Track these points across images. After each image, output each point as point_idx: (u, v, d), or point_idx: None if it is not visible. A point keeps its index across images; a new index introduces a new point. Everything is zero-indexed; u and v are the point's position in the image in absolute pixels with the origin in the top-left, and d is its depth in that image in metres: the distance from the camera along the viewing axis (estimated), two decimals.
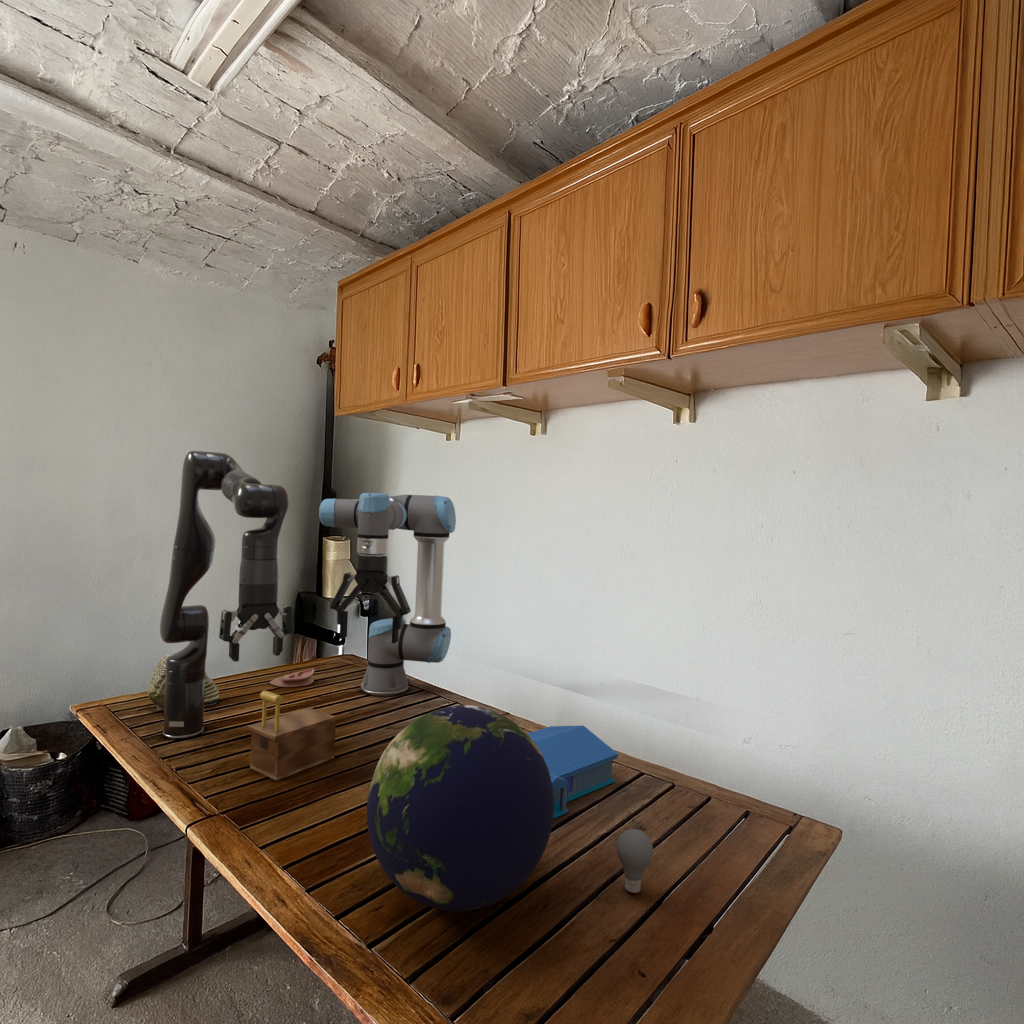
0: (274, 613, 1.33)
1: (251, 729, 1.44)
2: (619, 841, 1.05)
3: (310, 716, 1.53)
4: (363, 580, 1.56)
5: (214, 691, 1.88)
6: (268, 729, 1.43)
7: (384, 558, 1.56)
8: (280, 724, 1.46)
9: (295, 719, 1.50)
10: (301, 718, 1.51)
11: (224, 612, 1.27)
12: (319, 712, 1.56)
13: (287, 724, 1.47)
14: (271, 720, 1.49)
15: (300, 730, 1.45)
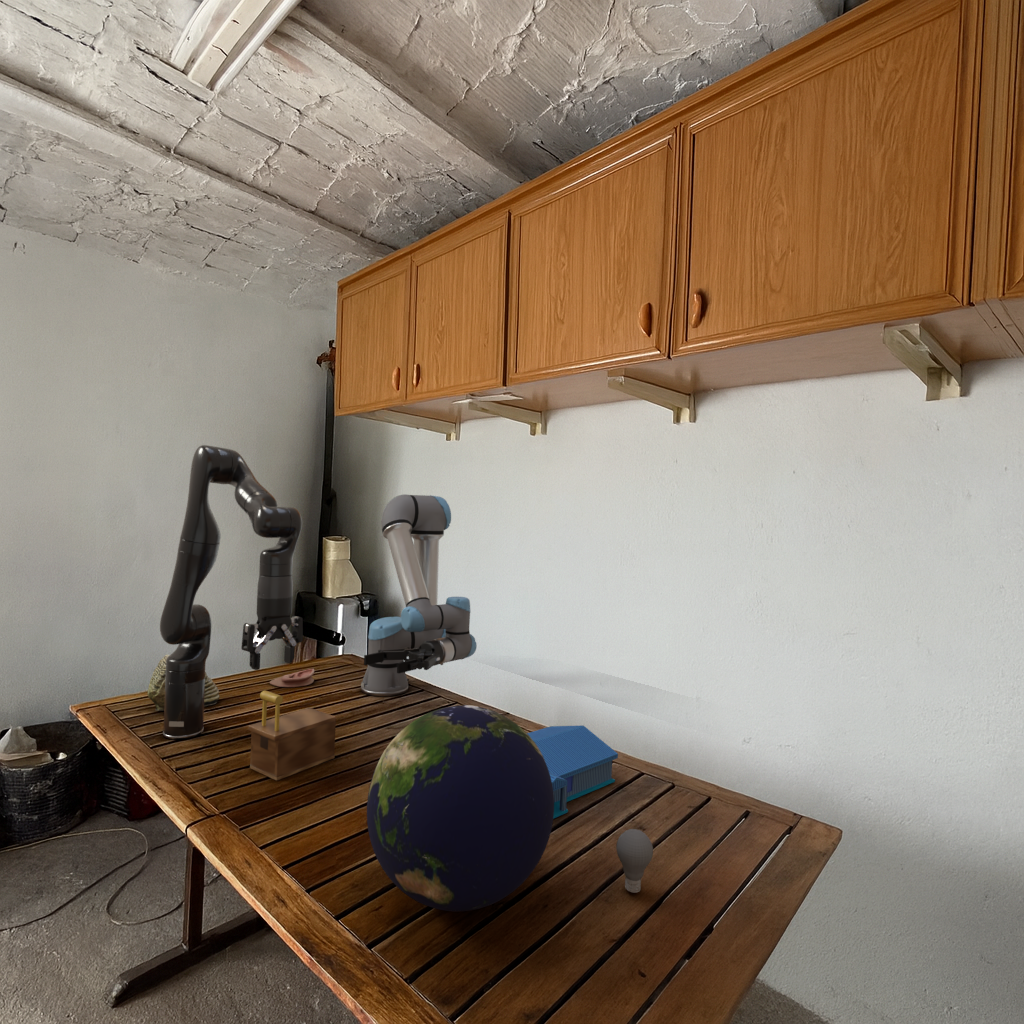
0: None
1: (251, 729, 1.44)
2: (619, 841, 1.05)
3: (310, 716, 1.53)
4: None
5: (214, 691, 1.88)
6: (268, 729, 1.43)
7: None
8: (280, 724, 1.46)
9: (295, 719, 1.50)
10: (301, 718, 1.51)
11: None
12: (319, 712, 1.56)
13: (287, 724, 1.47)
14: (271, 720, 1.49)
15: (300, 730, 1.45)
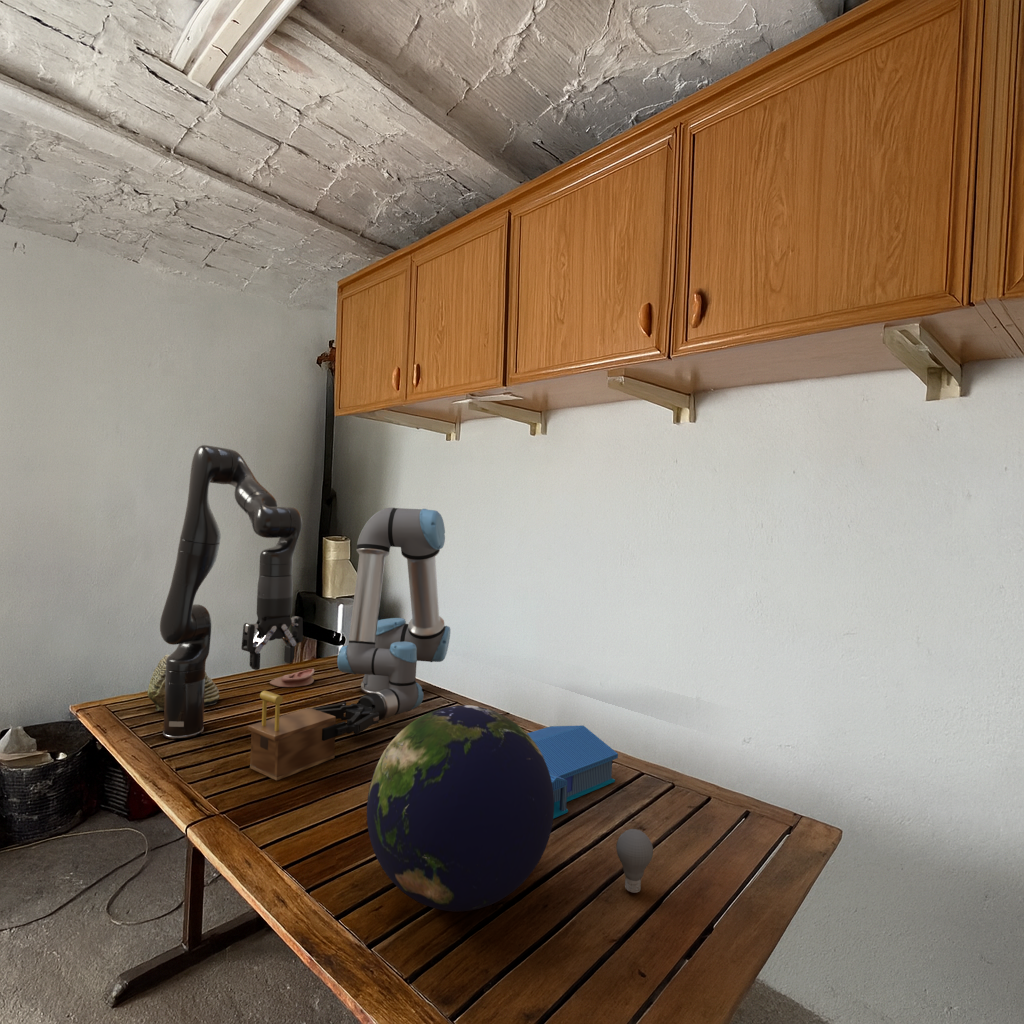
0: None
1: (251, 729, 1.44)
2: (619, 841, 1.05)
3: (310, 716, 1.53)
4: None
5: (214, 691, 1.88)
6: (268, 729, 1.43)
7: None
8: (280, 724, 1.46)
9: (295, 719, 1.50)
10: (301, 718, 1.51)
11: None
12: (319, 712, 1.56)
13: (287, 724, 1.47)
14: (271, 720, 1.49)
15: (300, 730, 1.45)
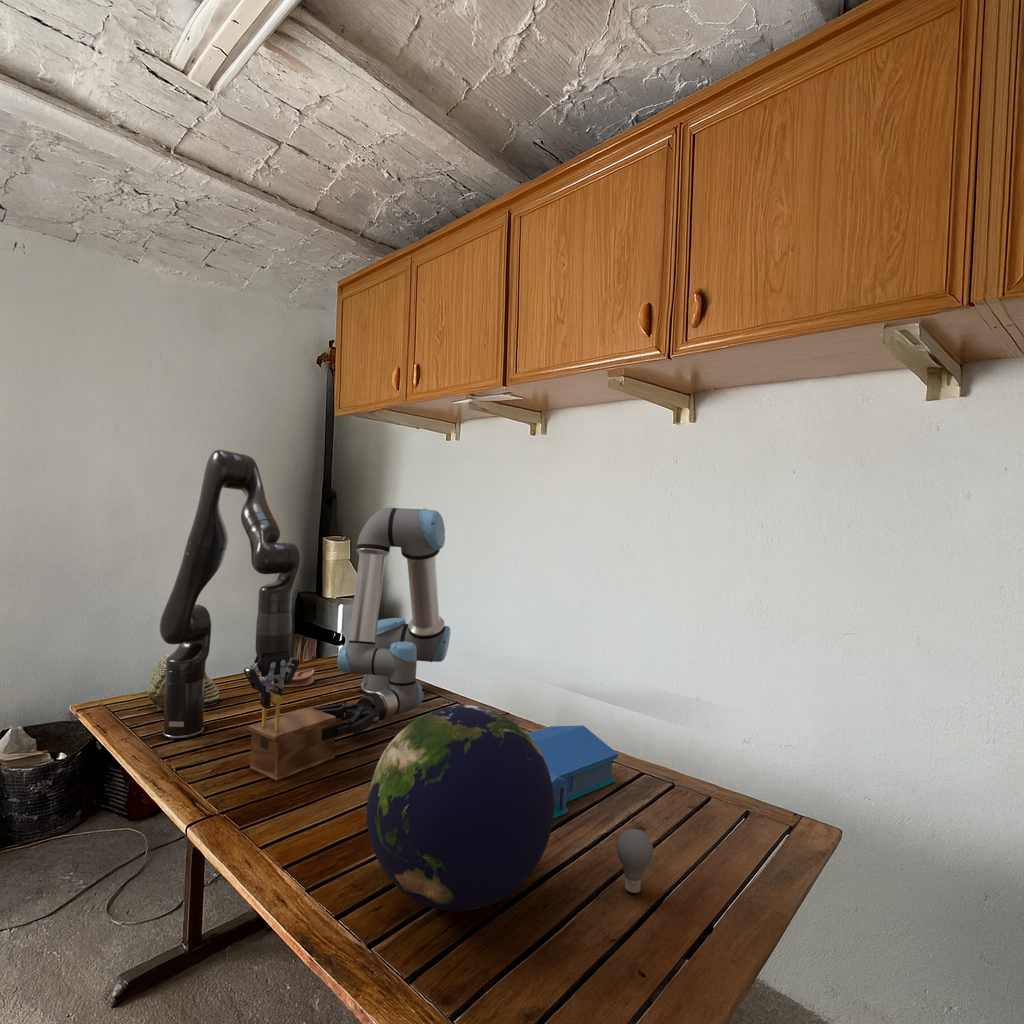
0: None
1: (251, 729, 1.44)
2: (619, 841, 1.05)
3: (310, 716, 1.53)
4: None
5: (214, 691, 1.88)
6: (268, 729, 1.43)
7: None
8: (280, 724, 1.46)
9: (295, 719, 1.50)
10: (301, 718, 1.51)
11: None
12: (319, 712, 1.56)
13: (287, 724, 1.47)
14: (271, 720, 1.49)
15: (300, 730, 1.45)
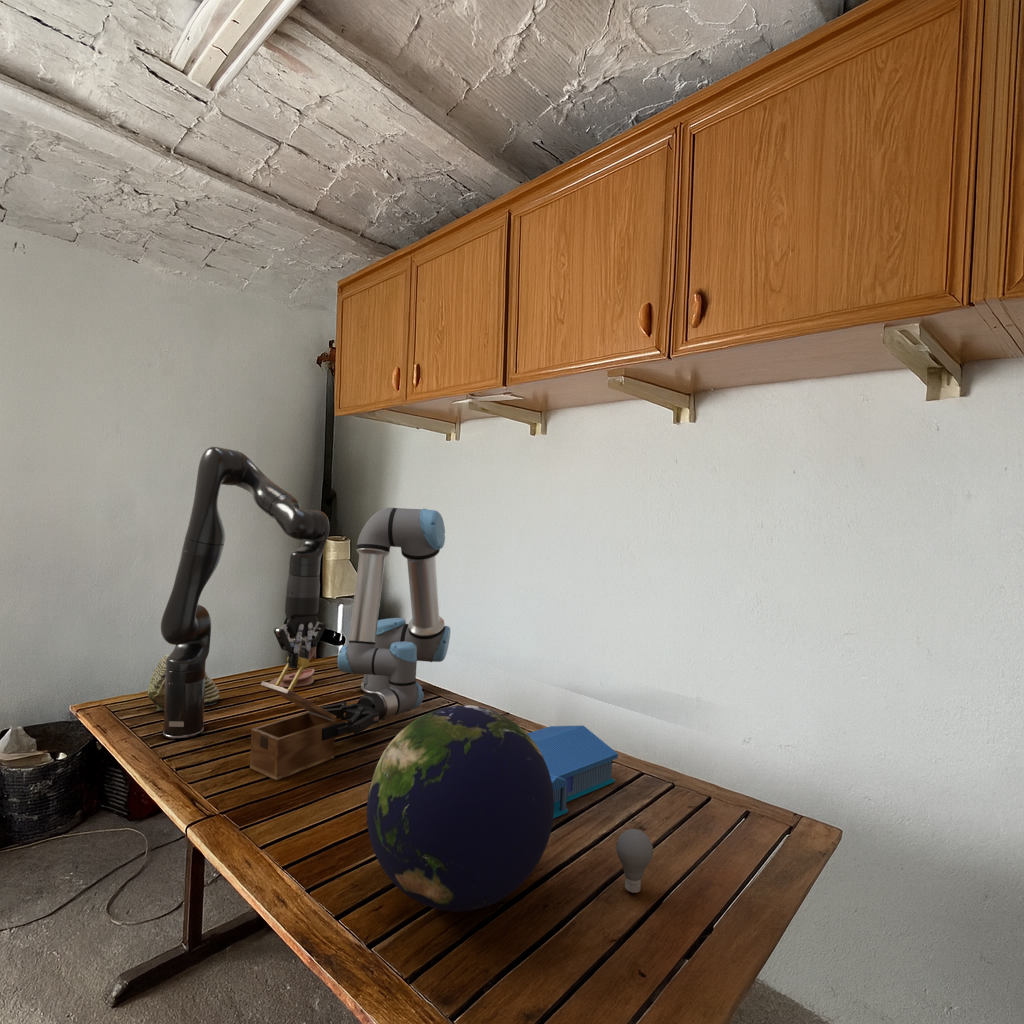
0: None
1: (264, 684, 1.47)
2: (619, 841, 1.05)
3: None
4: None
5: (214, 691, 1.88)
6: None
7: None
8: None
9: None
10: None
11: None
12: None
13: None
14: None
15: (307, 703, 1.46)
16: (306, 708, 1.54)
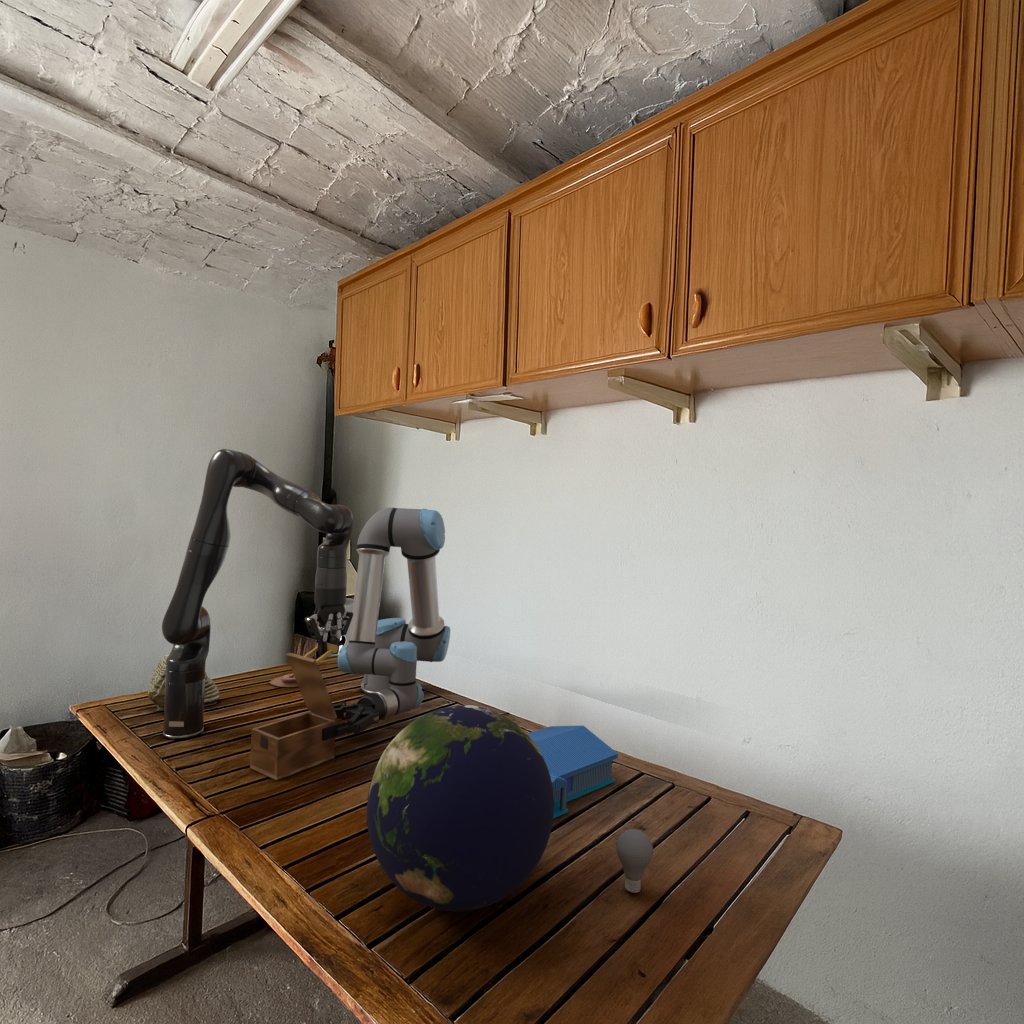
0: None
1: (290, 654, 1.52)
2: (619, 841, 1.05)
3: None
4: None
5: (214, 691, 1.88)
6: None
7: None
8: None
9: None
10: None
11: None
12: None
13: None
14: None
15: (322, 684, 1.50)
16: (311, 701, 1.56)
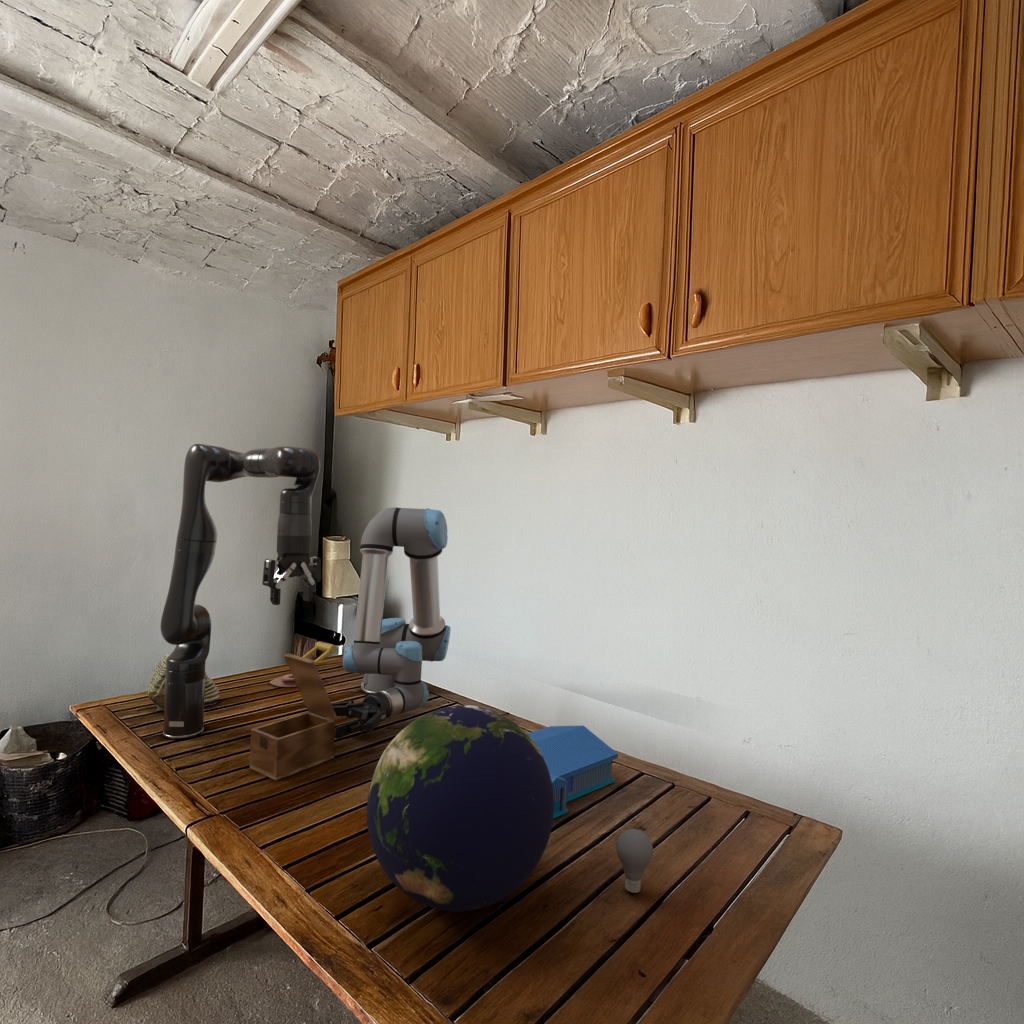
0: None
1: (288, 655, 1.52)
2: (619, 841, 1.05)
3: None
4: None
5: (214, 691, 1.88)
6: None
7: None
8: None
9: None
10: None
11: None
12: None
13: None
14: None
15: (321, 685, 1.50)
16: (310, 701, 1.55)
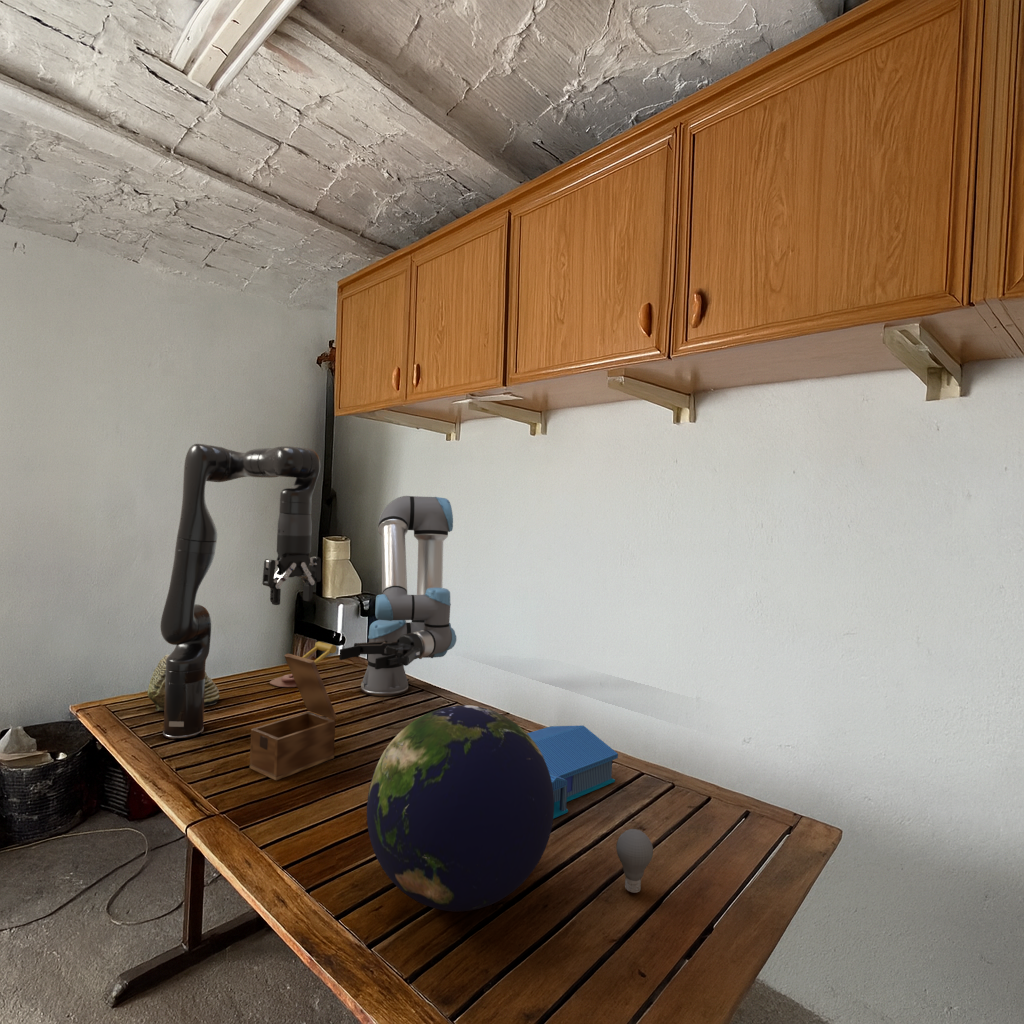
0: None
1: (288, 655, 1.52)
2: (619, 841, 1.05)
3: None
4: None
5: (214, 691, 1.88)
6: None
7: None
8: None
9: None
10: None
11: None
12: None
13: None
14: None
15: (321, 685, 1.50)
16: (310, 701, 1.55)
